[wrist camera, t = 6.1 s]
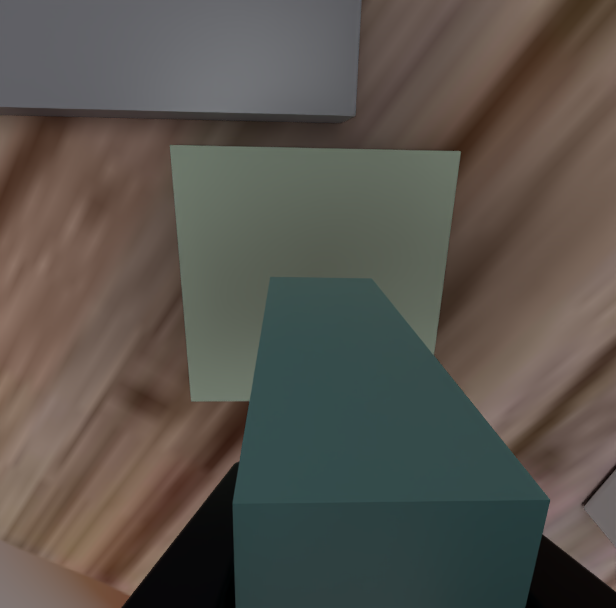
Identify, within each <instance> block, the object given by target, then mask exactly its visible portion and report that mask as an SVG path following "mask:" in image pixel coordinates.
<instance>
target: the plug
mask: <svg viewBox="0 0 616 608" xmlns="http://www.w3.org/2000/svg"><path fill="white" fill-rule="evenodd" d="M549 503H550V499H549V498H548V497H547V495H546V494H545V493H544V492H543V490H542V489H541V488H540V487H539V485H538V484H537V483H536V482H535V480H534V479H533V478H532V477H531V475H530V474H529V473H528V472H527V470H526V469H525V468H524V467H523V466H522V464H521V463H520V462H519V461H518V459H517V458H516V457H515V456H514V454H513V453H512V452H511V451H510V449H509V448H508V447H507V446H506V444H505V443H504V442H503V441H502V439H501V438H500V437H499V436H498V434H497V433H496V432H495V431H494V430H493V428H492V427H491V426H490V425H489V423H488V422H487V421H486V420H485V418H484V417H483V416H482V415H481V413H480V412H479V411H478V410H477V408H476V407H475V406H474V405H473V403H472V402H471V401H470V400H469V398H468V397H467V396H466V395H465V394H464V392H463V391H462V390H461V389H460V387H459V386H458V385H457V384H456V382H455V381H454V380H453V379H452V377H451V376H450V375H449V374H448V372H447V371H446V370H445V369H444V367H443V366H442V365H441V364H440V362H439V361H438V360H437V359H436V357H435V356H434V355H433V354H432V353H431V351H430V350H429V349H428V348H427V346H426V345H425V344H424V343H423V341H422V340H421V339H420V338H419V336H418V335H417V334H416V333H415V331H414V330H413V329H412V328H411V326H410V325H409V324H408V323H407V321H406V320H405V319H404V318H403V317H402V315H401V314H400V313H399V312H398V310H397V309H396V308H395V307H394V305H393V304H392V303H391V302H390V300H389V299H388V298H387V297H386V295H385V294H384V293H383V292H382V290H381V289H380V288H379V287H378V285H377V284H376V283H375V282H374V281H373V279H372V278H314V277H270V281H269V287H268V293H267V299H266V305H265V311H264V317H263V323H262V329H261V335H260V341H259V347H258V353H257V359H256V365H255V371H254V377H253V383H252V389H251V395H250V401H249V407H248V413H247V420H246V426H245V432H244V438H243V444H242V450H241V456H240V462H239V468H238V474H237V480H236V486H235V492H234V498H233V537H234V571H235V604H236V608H525V606H526V602H527V598H528V593H529V589H530V585H531V580H532V576H533V572H534V568H535V563H536V559H537V555H538V550H539V546H540V542H541V537H542V533H543V529H544V524H545V520H546V516H547V512H548V507H549Z"/></svg>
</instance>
